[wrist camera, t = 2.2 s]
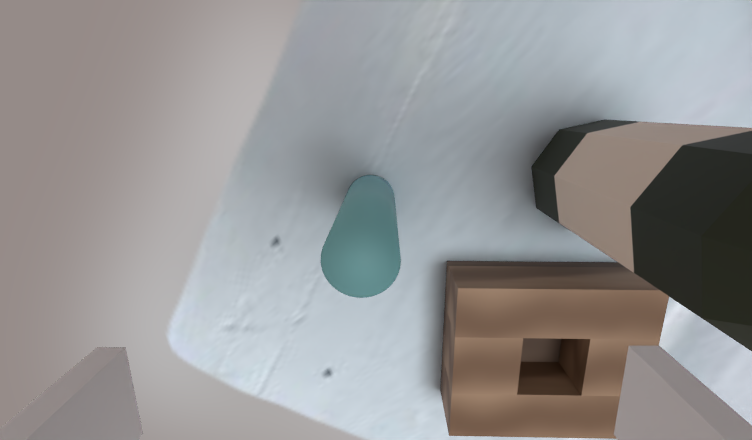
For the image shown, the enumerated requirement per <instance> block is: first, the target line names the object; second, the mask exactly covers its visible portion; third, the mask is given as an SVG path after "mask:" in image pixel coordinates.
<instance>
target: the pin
mask: <svg viewBox="0 0 752 440" xmlns="http://www.w3.org/2000/svg"><path fill="white" fill-rule="evenodd" d="M400 263H401V259H400V248H399V238H398V228H397V218H396V208H395V198H394V192H393V189H392V187H391V186H390V184H389V183H388V182H387V181H386V180H384V179H383V178H381V177H379V176H375V175H366V176H362V177H360V178H358V179H357V180H355V181H354V182H353V183H352V185H351V186H350V188H349V190H348V192H347V194H346V197H345V199H344V201H343V203H342V206H341V208H340V210H339V212H338V215H337V217H336V219H335V221H334V223H333V226H332V228H331V230H330V232H329V235H328V237H327V239H326V241H325V244H324V246H323V249H322V252H321V267H322V271H323V273H324V275H325V277H326V279H327V280H328V282H329V283H330V284H331V285H332V286H333V287H334V288H335V289H336V290H338V291H340V292H341V293H343V294H345V295H348V296H352V297H359V298H363V297H371V296H374V295H377V294H379V293H381V292H383V291H385V290H386V289H387V288H389V287H390V285H391V284H392V283H393V282H394V281H395V279H396V277H397V275H398V273H399V269H400Z"/></svg>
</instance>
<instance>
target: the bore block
mask: <svg viewBox="0 0 752 440" xmlns="http://www.w3.org/2000/svg"><path fill="white" fill-rule="evenodd" d="M668 298H669V296H668V295H666V294H665V293H663V292H662V291H660V290H659V289H657V288H656V287H654V286H653V285H651V284H650V283H648V282H647V281H645V280H644V279H642V278H641V277H639V276H638V275H636V274H635V273H633V272H632V271H630V270H629V269H627V268H626V267H624V266H623V265H621V264H620V263H614V262H495V261H447V271H446V291H445V311H444V331H443V350H442V370H441V390H440V391H441V396H442V401H443V406H444V411H445V417H446V422H447V427H448V432H449V436H499V437H556V438H613V439H617V438H616V437H615V435H614V430H615V424H616V418H617V412H618V406H619V400H620V394H621V388H622V382H623V377H624V371H625V365H626V359H627V353H628V347H629V346H659V341H660V336H661V332H662V327H663V322H664V317H665V313H666V308H667V303H668Z"/></svg>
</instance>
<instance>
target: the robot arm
mask: <svg viewBox="0 0 752 440" xmlns="http://www.w3.org/2000/svg"><path fill="white" fill-rule="evenodd" d="M142 434H143V431H142V426H141V421H140V416H139V412H138V406H137V401H136V396H135V392H134V387H133V382H132V377H131V372H130V367H129V362H128V357H127V352H126V347H97V348H96V349H94V350H93V351H92V352H91V353H90V354H89V355H87V356H86V357H85V358H84V359H82V360H81V361H80V362H79V363H78V364H76V365H75V366H74V367H73V368H72V369H70V370H69V371H68V372H67V373H66V374H64V375H63V376H62V377H61V378H60V379H58V380H57V381H56V382H55V383H54V384H53V385H51V386H50V387H49V388H48V389H46V390H45V391H44V392H43V393H42V394H40V395H39V396H38V397H37V398H36V399H34V400H33V401H32V402H31V403H30V404H28V405H27V406H26V407H25V408H24V409H22V410H21V411H20V412H19V413H18V414H16V415H15V416H14V417H13V418H12V419H10V420H9V421H8V422H7V423H6V424H5V425H3V426H2V427H1V428H0V440H138V439H139V438H140V436H141V435H142ZM614 435H615V437H616V438H617V439H618V440H752V425H750V424H749V423H748V422H747V421H746V420H745V419H743V418H742V417H741V416H740V415H739V414H738V413H737V412H735V411H734V410H733V409H732V408H731V407H730V406H728V405H727V404H726V403H725V402H724V401H723V400H721V399H720V398H719V397H718V396H717V395H716V394H714V393H713V392H712V391H711V390H710V389H709V388H708V387H706V386H705V385H704V384H703V383H702V382H701V381H699V380H698V379H697V378H696V377H695V376H694V375H692V374H691V373H690V372H689V371H688V370H687V369H685V368H684V367H683V366H682V365H681V364H680V363H679V362H677V361H676V360H675V359H674V358H673V357H672V356H670V355H669V354H668V353H667V352H666V351H665V350H663V349H662V348H661V347H660V346H629V347H628V353H627V359H626V365H625V371H624V377H623V382H622V388H621V394H620V400H619V406H618V412H617V418H616V424H615V430H614Z"/></svg>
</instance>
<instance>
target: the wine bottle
mask: <svg viewBox="0 0 752 440" xmlns="http://www.w3.org/2000/svg"><path fill="white" fill-rule="evenodd" d="M532 175H533V183H534V192H535V200H536V208H537V209H539V210H540V211H542V212H543V213H545V214H546V215H548V216H549V217H551V218H552V219H554V220H555V221H557V222H558V223H560V224H561V225H563V226H564V227H566V228H567V229H569V230H570V231H572V232H573V233H575V234H576V235H578V236H579V237H581V238H582V239H584V240H585V241H587V242H588V243H590V244H591V245H593V246H594V247H596V248H597V249H599V250H600V251H602V252H603V253H605V254H606V255H608V256H609V257H611V258H612V259H614V260H615V261H617V262H618V263H620V264H621V265H623V266H624V267H626V268H627V269H629V270H630V271H632V272H633V273H635V274H636V275H638V276H639V277H641V278H642V279H644V280H645V281H647V282H648V283H650V284H651V285H653V286H654V287H656V288H657V289H659V290H660V291H662V292H663V293H665V294H666V295H668V296H669V297H671V298H672V299H674V300H675V301H677V302H678V303H680V304H681V305H683V306H684V307H686V308H688V309H689V310H691V311H692V312H694V313H695V314H697V315H698V316H700V317H701V318H703V319H704V320H706V321H707V322H709V323H710V324H712V325H713V326H715V327H716V328H718V329H719V330H721V331H722V332H724V333H725V334H727V335H728V336H730V337H731V338H733V339H734V340H736V341H737V342H739V343H740V344H742V345H743V346H745V347H746V348H748V349H749V350H751V351H752V128H742V127H725V126H707V125H689V124H672V123H654V122H636V121H619V120H601V121H597V122H592V123H587V124H583V125H578V126H573V127H569V128H564V129H560V130H559V131H558V132H557V134H556V135H555V136H554V138H553V139H552V140H551V142H550V143H549V144H548V146H547V147H546V148H545V150H544V151H543V152H542V154H541V155H540V156H539V158H538V159H537V160H536V162H535V163H534V164H533V166H532Z"/></svg>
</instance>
